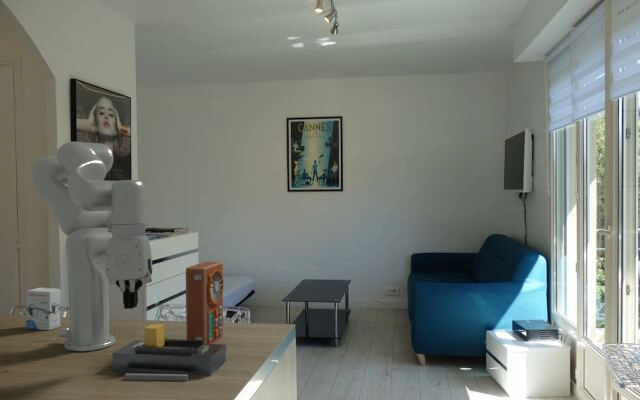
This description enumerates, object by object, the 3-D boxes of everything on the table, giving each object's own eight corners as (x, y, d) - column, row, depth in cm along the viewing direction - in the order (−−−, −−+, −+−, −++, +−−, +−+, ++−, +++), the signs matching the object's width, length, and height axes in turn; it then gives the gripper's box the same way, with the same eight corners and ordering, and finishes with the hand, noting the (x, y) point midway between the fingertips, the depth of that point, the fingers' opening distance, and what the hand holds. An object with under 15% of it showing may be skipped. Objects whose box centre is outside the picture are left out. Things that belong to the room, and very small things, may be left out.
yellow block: (144, 349, 120) (144, 328, 120) (153, 344, 124) (152, 323, 124) (156, 349, 119) (156, 328, 119) (164, 344, 123) (164, 324, 123)
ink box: (25, 329, 154) (25, 290, 154) (38, 324, 159) (37, 287, 159) (49, 330, 152) (49, 291, 152) (61, 326, 157) (61, 288, 157)
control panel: (227, 335, 146) (205, 351, 132) (205, 333, 148) (180, 349, 133) (227, 261, 146) (205, 269, 131) (204, 260, 147) (180, 268, 133)
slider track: (112, 369, 118) (112, 347, 118) (135, 356, 128) (134, 335, 128) (210, 375, 114) (210, 352, 114) (226, 360, 124) (225, 339, 124)
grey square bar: (124, 379, 112) (124, 375, 112) (126, 377, 113) (126, 373, 113) (187, 380, 111) (186, 376, 111) (188, 378, 112) (188, 374, 112)
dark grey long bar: (118, 374, 115) (118, 369, 115) (121, 372, 116) (121, 367, 116) (184, 378, 112) (184, 373, 112) (187, 376, 114) (187, 371, 114)
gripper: (91, 233, 120) (92, 310, 120) (150, 232, 117) (152, 311, 117) (109, 230, 127) (111, 304, 127) (165, 230, 125) (166, 304, 125)
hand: (130, 307), depth 122 cm, fingers closed
